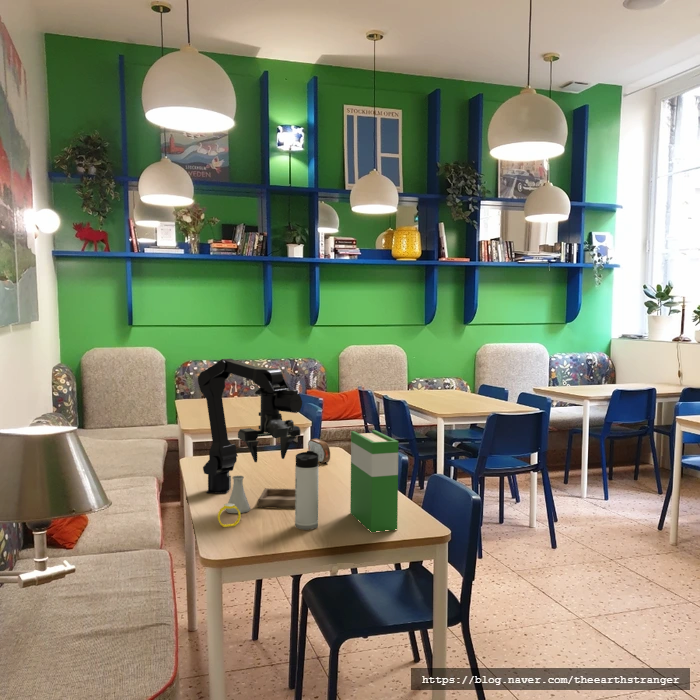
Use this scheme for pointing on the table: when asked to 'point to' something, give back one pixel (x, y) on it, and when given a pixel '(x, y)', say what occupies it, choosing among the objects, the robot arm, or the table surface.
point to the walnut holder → (277, 498)
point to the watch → (229, 508)
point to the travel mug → (306, 490)
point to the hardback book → (374, 480)
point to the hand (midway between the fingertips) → (269, 460)
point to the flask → (238, 496)
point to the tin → (320, 449)
